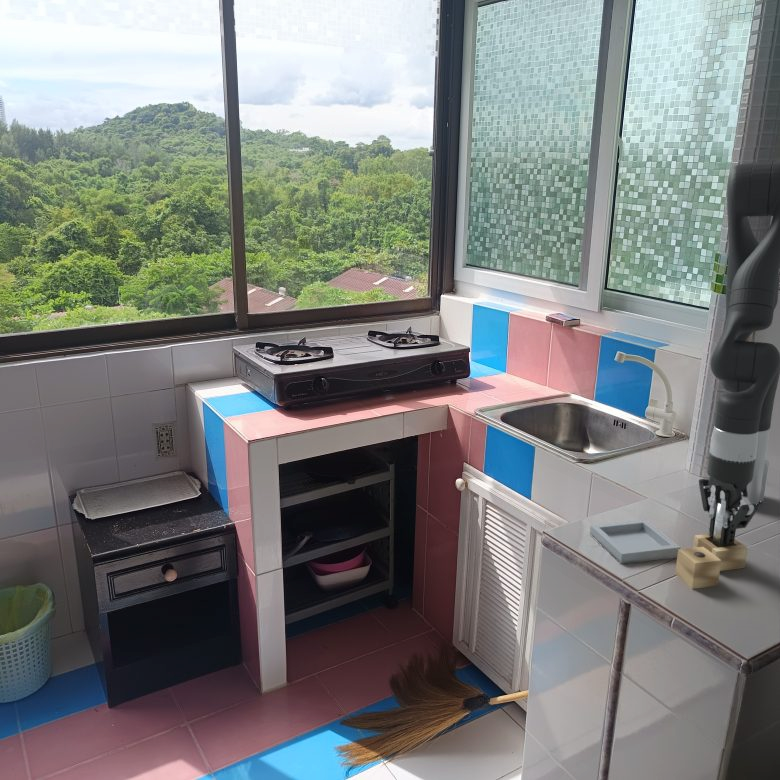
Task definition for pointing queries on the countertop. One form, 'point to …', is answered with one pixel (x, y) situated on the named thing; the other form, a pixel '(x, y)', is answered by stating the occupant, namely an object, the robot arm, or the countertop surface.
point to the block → (698, 567)
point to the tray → (634, 541)
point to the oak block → (724, 552)
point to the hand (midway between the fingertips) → (720, 540)
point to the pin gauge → (718, 527)
